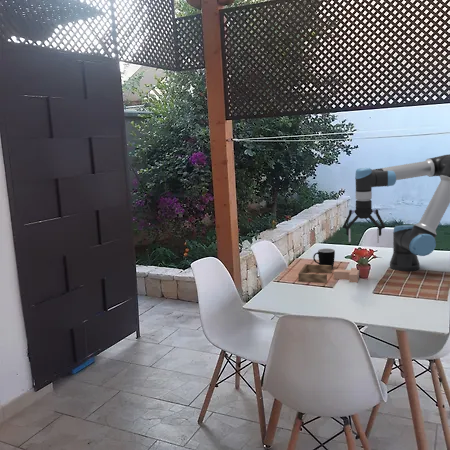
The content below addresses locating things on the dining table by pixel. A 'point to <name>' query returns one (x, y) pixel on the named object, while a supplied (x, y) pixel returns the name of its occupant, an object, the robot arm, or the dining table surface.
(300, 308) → the dining table surface
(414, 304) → the dining table surface
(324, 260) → the mug
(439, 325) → the dining table surface
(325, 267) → the pocket
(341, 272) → the block
